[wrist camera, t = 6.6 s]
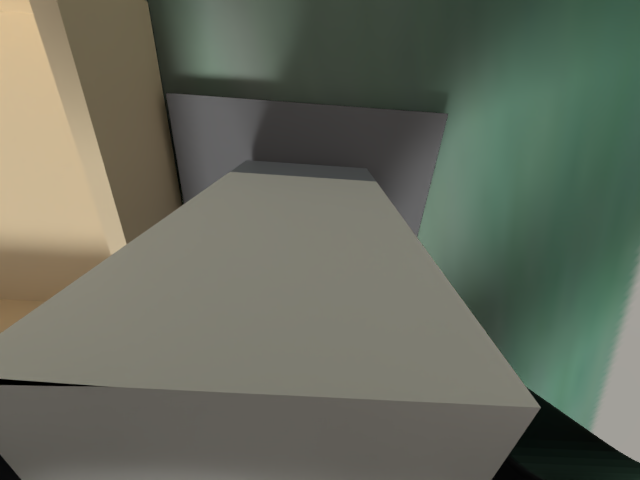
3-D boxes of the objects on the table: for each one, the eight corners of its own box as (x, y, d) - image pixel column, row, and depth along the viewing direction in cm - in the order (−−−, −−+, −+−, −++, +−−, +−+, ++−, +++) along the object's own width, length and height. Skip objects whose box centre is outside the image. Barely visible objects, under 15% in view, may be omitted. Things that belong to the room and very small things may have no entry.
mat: (392, 315, 15) (395, 323, 14) (207, 306, 14) (202, 313, 14) (441, 113, 10) (448, 114, 10) (174, 93, 10) (165, 92, 9)
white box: (348, 296, 13) (394, 621, 5) (253, 291, 13) (133, 612, 5) (366, 168, 10) (540, 408, 2) (246, 160, 10) (-61, 377, 2)
